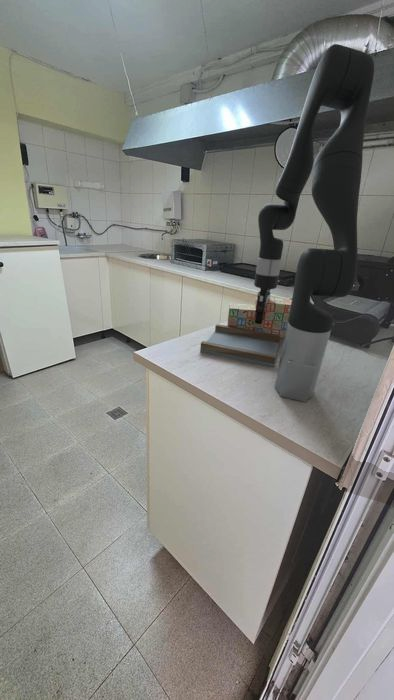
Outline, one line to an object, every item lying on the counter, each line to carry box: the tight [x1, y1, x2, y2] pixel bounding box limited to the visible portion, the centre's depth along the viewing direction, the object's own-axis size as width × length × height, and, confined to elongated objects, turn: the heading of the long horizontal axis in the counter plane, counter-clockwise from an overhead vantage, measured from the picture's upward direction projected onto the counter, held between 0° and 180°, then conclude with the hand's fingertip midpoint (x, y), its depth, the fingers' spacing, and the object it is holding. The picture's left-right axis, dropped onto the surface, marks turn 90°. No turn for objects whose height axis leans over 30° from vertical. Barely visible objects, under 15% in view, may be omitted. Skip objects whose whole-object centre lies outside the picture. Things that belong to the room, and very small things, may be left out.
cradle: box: [199, 323, 281, 368], centre depth 90 cm, size 17×22×3 cm
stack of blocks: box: [226, 296, 292, 339], centre depth 100 cm, size 21×6×12 cm, turn 84°
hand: (260, 319), depth 100 cm, fingers closed on stack of blocks, 7 cm apart
